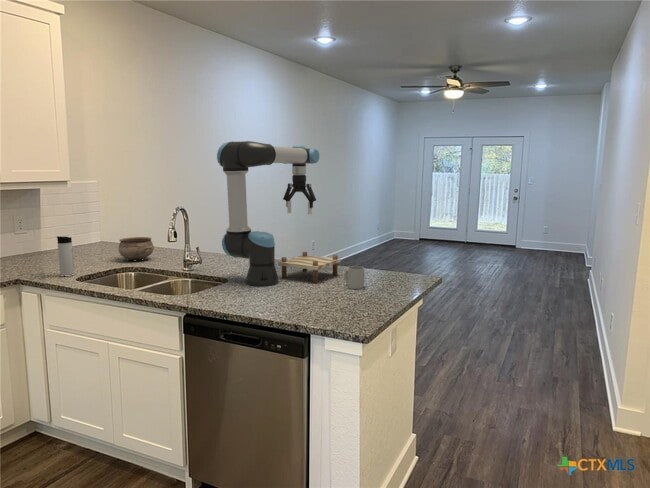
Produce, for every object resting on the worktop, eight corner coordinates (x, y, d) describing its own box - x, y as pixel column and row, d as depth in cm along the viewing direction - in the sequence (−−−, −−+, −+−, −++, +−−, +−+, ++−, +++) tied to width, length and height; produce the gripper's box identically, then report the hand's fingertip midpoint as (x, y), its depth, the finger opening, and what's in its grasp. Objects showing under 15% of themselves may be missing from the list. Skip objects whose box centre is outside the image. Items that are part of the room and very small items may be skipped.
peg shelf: (316, 283, 230) (316, 262, 228) (278, 278, 241) (278, 257, 240) (340, 274, 248) (340, 255, 247) (303, 270, 260) (303, 251, 258)
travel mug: (57, 276, 246) (53, 236, 243) (69, 273, 252) (65, 234, 249) (65, 277, 243) (61, 237, 240) (77, 275, 249) (74, 235, 246)
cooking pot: (108, 260, 286) (107, 239, 284) (136, 255, 302) (134, 235, 300) (138, 265, 274) (136, 243, 272) (164, 259, 290) (163, 238, 288)
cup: (358, 290, 219) (358, 270, 217) (339, 286, 225) (339, 267, 223) (367, 286, 224) (367, 267, 223) (348, 283, 230) (348, 264, 229)
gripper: (322, 174, 268) (322, 214, 272) (284, 174, 281) (285, 211, 284) (314, 175, 262) (315, 215, 265) (276, 174, 275) (277, 213, 278)
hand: (299, 213), depth 275 cm, fingers open, 13 cm apart
